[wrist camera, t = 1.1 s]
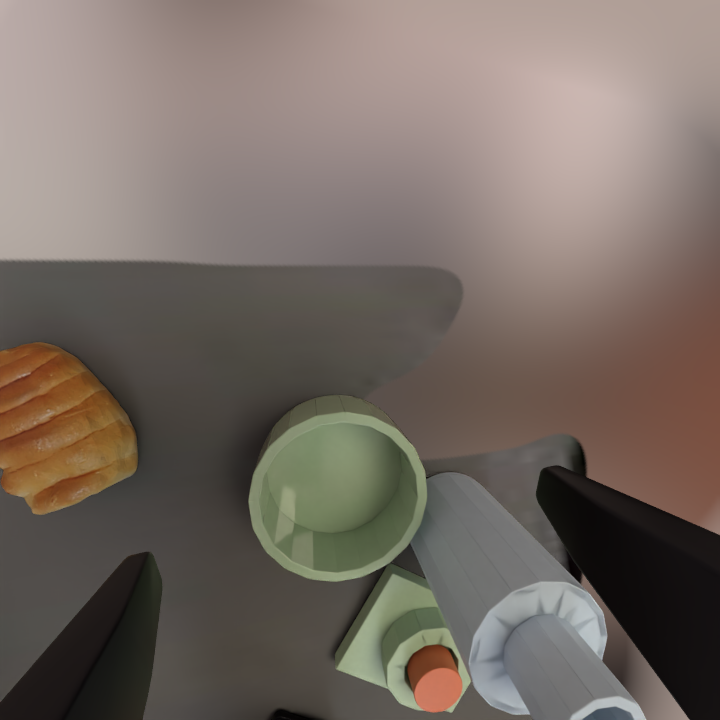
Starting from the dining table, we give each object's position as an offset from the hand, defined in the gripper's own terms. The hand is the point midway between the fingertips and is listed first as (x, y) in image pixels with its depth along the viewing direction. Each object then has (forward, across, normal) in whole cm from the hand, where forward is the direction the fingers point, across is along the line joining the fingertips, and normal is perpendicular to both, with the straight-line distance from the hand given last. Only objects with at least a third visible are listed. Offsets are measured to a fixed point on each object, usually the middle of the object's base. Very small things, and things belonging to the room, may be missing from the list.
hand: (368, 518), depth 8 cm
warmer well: (+14, -1, +10) cm, 17 cm away
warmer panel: (+10, -6, +23) cm, 26 cm away
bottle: (+12, -9, +14) cm, 21 cm away
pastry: (+17, +14, +6) cm, 23 cm away
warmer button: (+7, -6, +23) cm, 24 cm away
